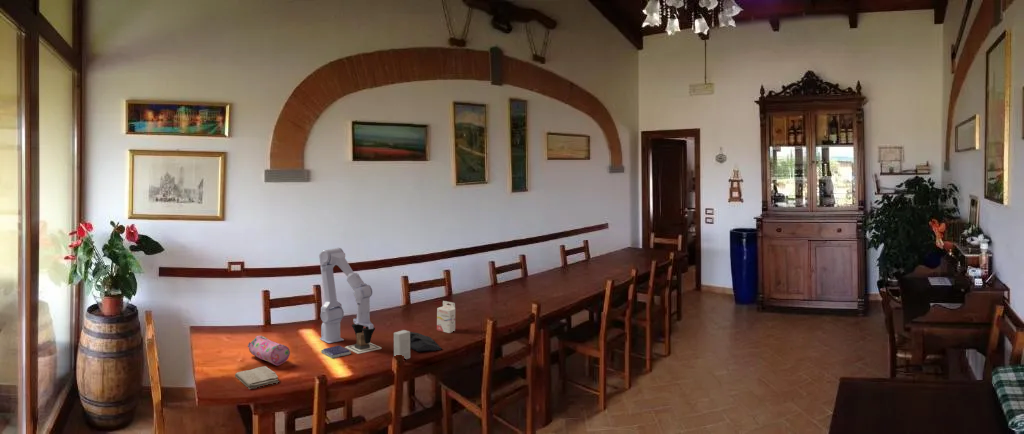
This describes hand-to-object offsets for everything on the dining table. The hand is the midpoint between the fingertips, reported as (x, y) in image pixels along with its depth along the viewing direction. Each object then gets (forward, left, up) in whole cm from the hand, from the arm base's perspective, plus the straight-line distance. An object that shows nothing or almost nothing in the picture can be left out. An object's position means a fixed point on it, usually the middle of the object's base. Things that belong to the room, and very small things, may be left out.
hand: (363, 341), depth 274 cm
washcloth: (+8, -51, -4) cm, 52 cm away
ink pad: (-1, -13, -3) cm, 13 cm away
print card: (0, 0, -3) cm, 3 cm away
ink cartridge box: (+2, +46, -4) cm, 46 cm away
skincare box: (+24, +5, -3) cm, 25 cm away
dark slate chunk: (+14, +22, -4) cm, 27 cm away
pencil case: (-12, -38, -4) cm, 40 cm away
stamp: (0, -1, -3) cm, 3 cm away
